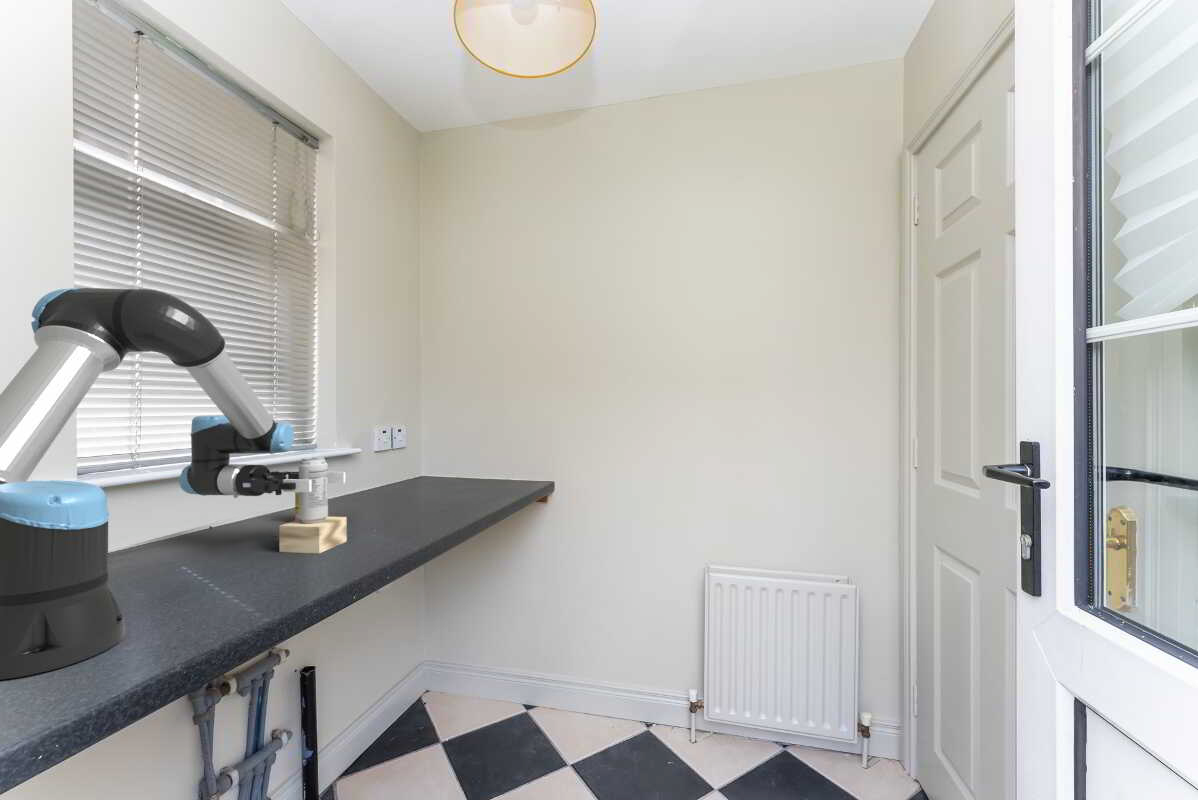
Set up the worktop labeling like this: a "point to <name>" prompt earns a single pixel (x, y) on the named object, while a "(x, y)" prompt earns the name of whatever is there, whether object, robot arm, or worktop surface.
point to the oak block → (312, 535)
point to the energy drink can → (314, 490)
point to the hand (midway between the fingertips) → (328, 481)
